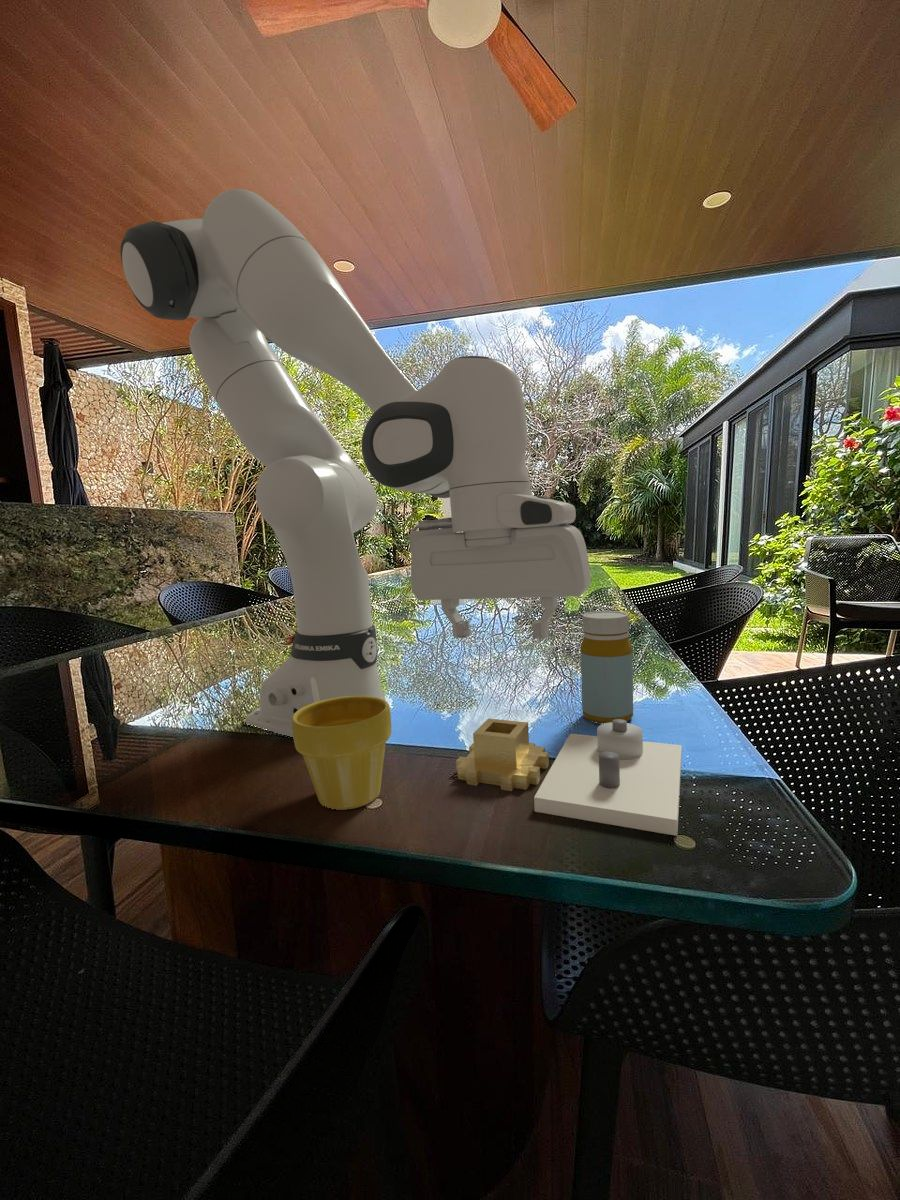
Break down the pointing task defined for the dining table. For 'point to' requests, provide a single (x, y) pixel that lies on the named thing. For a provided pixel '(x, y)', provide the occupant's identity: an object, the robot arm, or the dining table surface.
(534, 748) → the gear
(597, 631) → the bottle
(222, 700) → the dining table surface
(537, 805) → the carrier plate
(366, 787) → the plant pot
